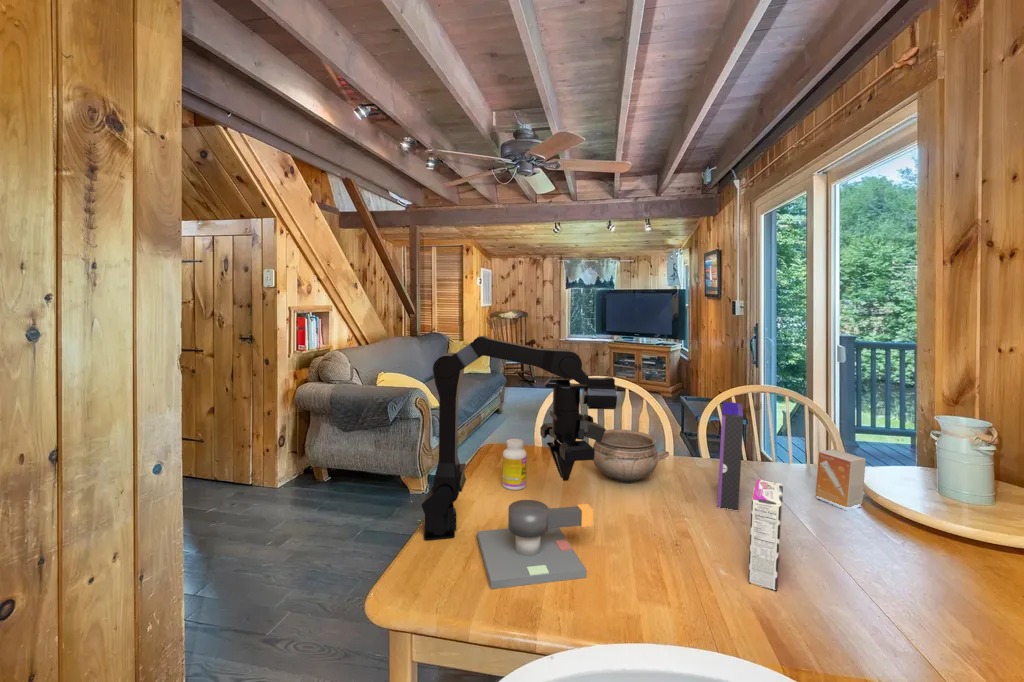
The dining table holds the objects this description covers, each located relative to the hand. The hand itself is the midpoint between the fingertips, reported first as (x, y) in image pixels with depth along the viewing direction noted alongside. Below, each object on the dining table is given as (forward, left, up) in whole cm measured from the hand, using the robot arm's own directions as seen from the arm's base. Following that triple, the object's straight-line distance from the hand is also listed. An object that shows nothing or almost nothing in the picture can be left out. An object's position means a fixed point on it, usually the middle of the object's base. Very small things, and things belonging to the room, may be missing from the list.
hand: (564, 479), depth 98 cm
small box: (+77, +3, -13) cm, 78 cm away
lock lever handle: (-5, -6, -7) cm, 11 cm away
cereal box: (+51, +12, -13) cm, 54 cm away
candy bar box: (+34, -20, -13) cm, 41 cm away
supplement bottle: (-4, +29, -13) cm, 32 cm away
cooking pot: (+29, +29, -13) cm, 43 cm away
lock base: (-9, -6, -13) cm, 17 cm away
